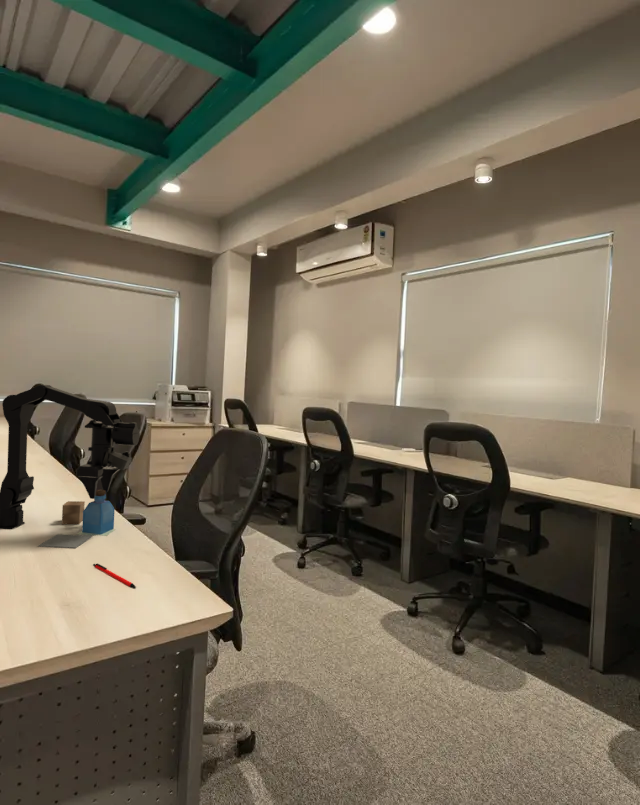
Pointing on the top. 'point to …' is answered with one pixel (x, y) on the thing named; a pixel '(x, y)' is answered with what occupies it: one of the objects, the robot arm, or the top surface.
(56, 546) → the slate coaster
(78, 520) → the walnut block
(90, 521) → the perfume bottle
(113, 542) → the top surface
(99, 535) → the code mat
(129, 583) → the pen
